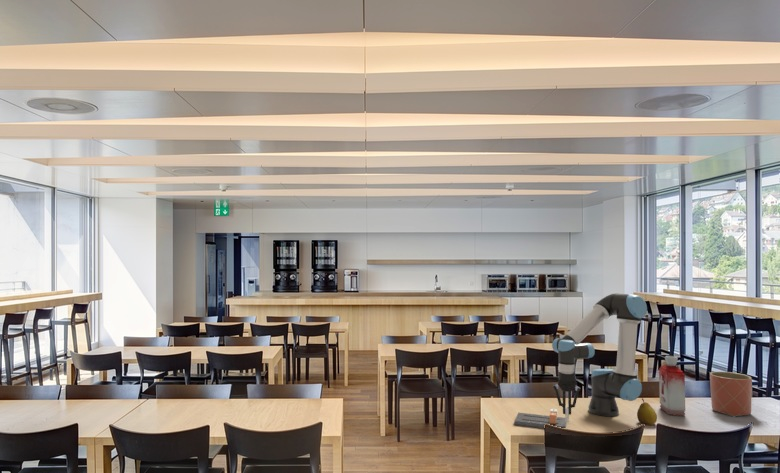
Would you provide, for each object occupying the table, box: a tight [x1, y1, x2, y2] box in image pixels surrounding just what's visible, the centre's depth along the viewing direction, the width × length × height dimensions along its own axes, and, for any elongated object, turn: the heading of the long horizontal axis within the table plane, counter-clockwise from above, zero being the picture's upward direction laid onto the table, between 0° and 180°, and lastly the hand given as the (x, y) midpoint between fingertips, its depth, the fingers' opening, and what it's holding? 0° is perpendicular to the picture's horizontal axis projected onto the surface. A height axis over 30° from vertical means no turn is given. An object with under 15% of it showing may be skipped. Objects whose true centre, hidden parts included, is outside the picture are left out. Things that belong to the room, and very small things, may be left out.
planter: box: [709, 371, 753, 417], centre depth 275 cm, size 19×19×20 cm
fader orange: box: [548, 412, 556, 424], centre depth 248 cm, size 3×4×4 cm
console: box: [514, 412, 568, 429], centre depth 254 cm, size 24×15×2 cm, turn 69°
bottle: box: [658, 355, 686, 417], centre depth 275 cm, size 14×10×30 cm
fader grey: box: [549, 408, 558, 420], centre depth 255 cm, size 3×4×4 cm
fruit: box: [636, 397, 658, 426], centre depth 255 cm, size 9×9×12 cm
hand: (567, 420), depth 246 cm, fingers closed
